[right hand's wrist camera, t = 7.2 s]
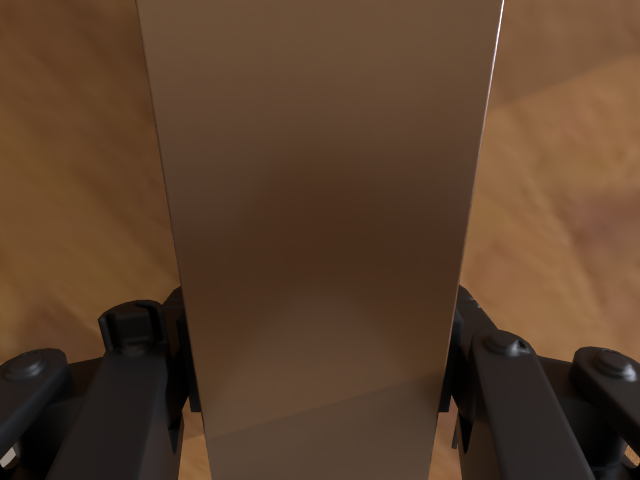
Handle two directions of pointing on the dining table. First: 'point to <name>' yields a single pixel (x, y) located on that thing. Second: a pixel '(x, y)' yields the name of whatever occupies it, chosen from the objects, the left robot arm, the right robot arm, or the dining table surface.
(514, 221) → the dining table surface
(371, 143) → the bar
